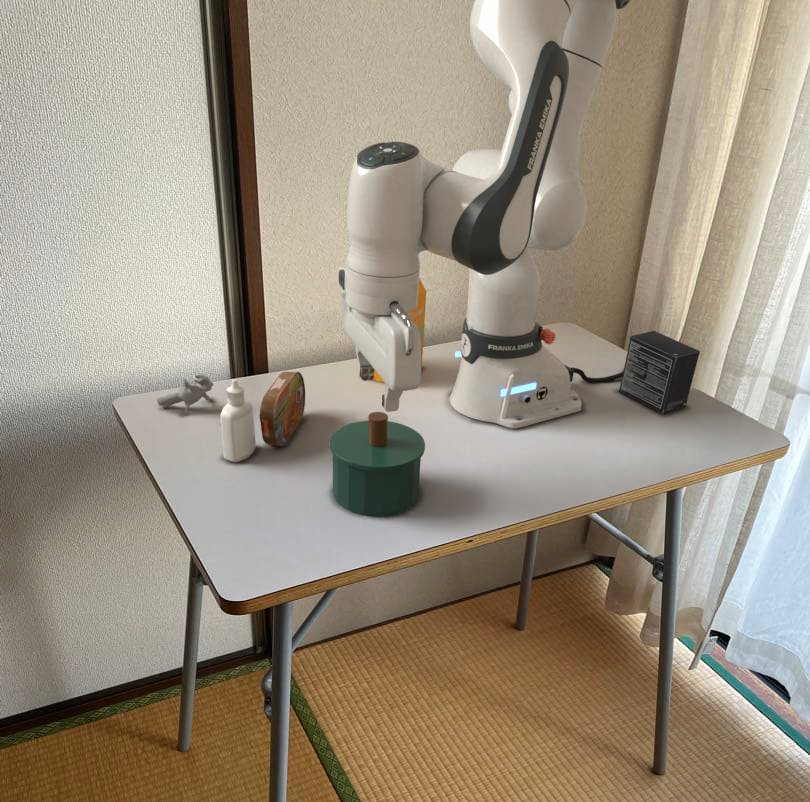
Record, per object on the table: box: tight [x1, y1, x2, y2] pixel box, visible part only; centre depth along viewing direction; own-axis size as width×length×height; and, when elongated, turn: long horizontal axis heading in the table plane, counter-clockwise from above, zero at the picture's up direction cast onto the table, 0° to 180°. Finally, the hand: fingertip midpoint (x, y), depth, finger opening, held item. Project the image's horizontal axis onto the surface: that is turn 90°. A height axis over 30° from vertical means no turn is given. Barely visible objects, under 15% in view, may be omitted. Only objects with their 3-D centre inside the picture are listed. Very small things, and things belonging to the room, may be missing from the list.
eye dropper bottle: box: [219, 378, 257, 463], centre depth 126 cm, size 4×6×12 cm
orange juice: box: [372, 277, 427, 384], centre depth 150 cm, size 8×9×20 cm
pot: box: [332, 454, 422, 517], centre depth 121 cm, size 12×12×8 cm
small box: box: [618, 330, 701, 415], centre depth 148 cm, size 11×6×10 cm, turn 34°
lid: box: [329, 411, 426, 471], centre depth 117 cm, size 13×13×5 cm
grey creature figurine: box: [156, 371, 214, 415], centre depth 139 cm, size 10×6×9 cm
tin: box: [259, 371, 306, 447], centre depth 134 cm, size 15×3×8 cm, turn 168°
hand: (377, 393), depth 114 cm, fingers open, 8 cm apart
